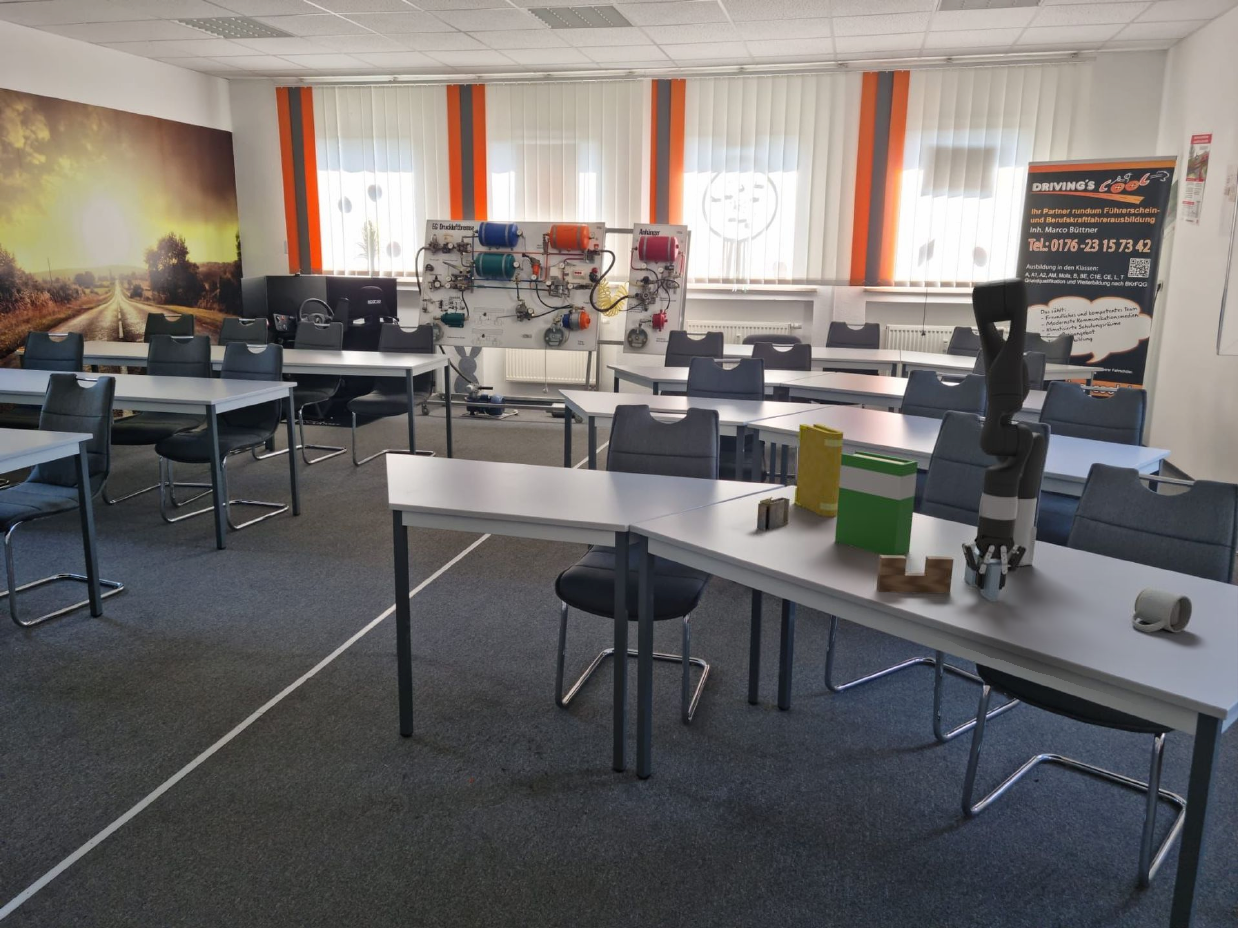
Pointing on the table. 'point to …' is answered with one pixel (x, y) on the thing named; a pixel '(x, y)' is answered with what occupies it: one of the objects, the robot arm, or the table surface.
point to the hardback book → (876, 502)
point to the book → (819, 469)
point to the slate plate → (986, 578)
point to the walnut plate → (914, 575)
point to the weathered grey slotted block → (772, 513)
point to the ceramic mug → (1162, 610)
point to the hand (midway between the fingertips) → (989, 588)
